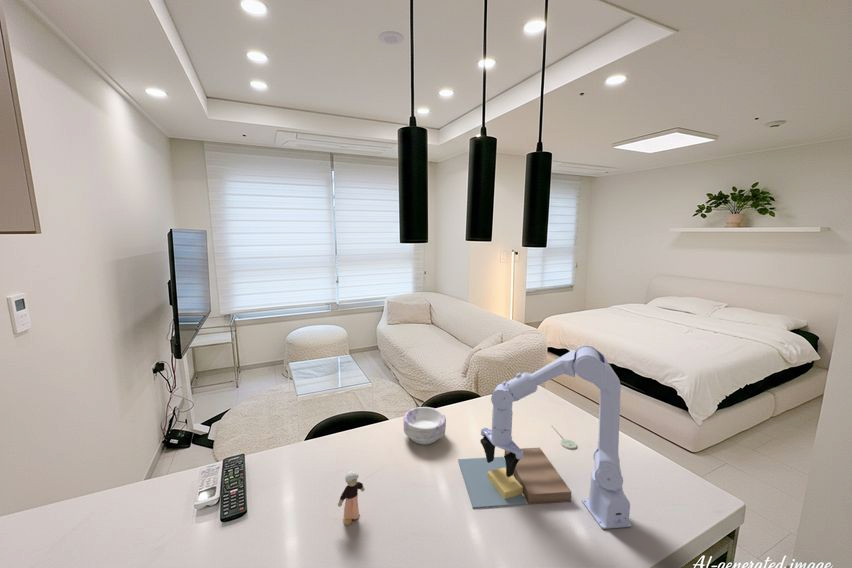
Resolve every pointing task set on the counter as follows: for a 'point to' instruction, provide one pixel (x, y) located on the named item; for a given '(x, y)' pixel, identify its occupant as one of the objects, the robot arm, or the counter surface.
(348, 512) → the grandmother figurine
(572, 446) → the pale green spoon
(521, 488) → the yellow flat block
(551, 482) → the brown wooden board
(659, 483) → the counter surface
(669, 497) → the counter surface
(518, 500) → the mat
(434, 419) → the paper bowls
